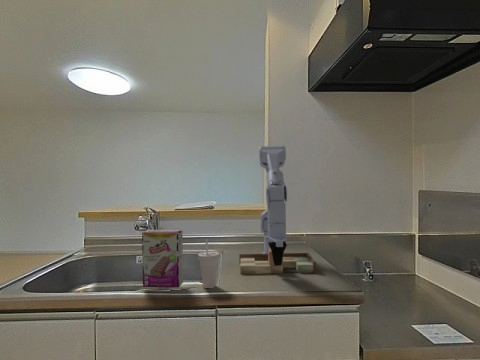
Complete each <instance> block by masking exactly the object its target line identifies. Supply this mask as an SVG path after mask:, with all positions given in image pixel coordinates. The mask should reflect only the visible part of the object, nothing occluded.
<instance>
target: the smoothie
mask: <svg viewBox="0 0 480 360" xmlns="http://www.w3.org/2000/svg"><path fill="white" fill-rule="evenodd" d="M208 240H209V239H208V238H205V251H202V252H199V253H198V254H197V258H198V260H199V266H200V267H199V268H200V273H201V280H202V288H203V287H204V288H203V289H206V288H212V289H214V287H215V288H216V287H217V280H218V279H217V277H218V269H219V267H218V266H219V259H220V257H221V256H220V253H219V252H218V251H209V250H208V249H209V241H208Z"/></svg>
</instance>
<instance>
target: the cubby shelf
mask: <svg viewBox="0 0 480 360" xmlns="http://www.w3.org/2000/svg"><path fill="white" fill-rule="evenodd" d="M238 257H239V266H240V268H239V269H240V271H239V272H240V275H243V274H244V275H247V274H249V275H250V274H251V275H252V274H256V275H257V274H308V273H311V274H317V262H316V261H315V259H314V258H313V257H312V256H311V254H310V253H309V252H288V253H287V252H286V253H285V252H284V253H283V265H276V266H275V265H269V262H268V254H263V253H240V254H239V256H238Z"/></svg>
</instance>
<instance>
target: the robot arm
mask: <svg viewBox="0 0 480 360" xmlns="http://www.w3.org/2000/svg"><path fill="white" fill-rule="evenodd" d="M286 153H287V152H286V146H285V145H266V146H265V145H264V146H262V145H260V146H259V166H260V168H264V169H265V172H266V179H265V180H266V187H265V199H266V206H267V207H266V210H264V211H262V212H261V214H260V232H261V233H262V234H263V242H264V243H263V247H264V250H263V251H262V254H268V249H271V251H272V256H273V262H274V265H275V266H276V265H281V264H282V258H283V253H285V250H286V248H287V245H288V244H287V242H286V240H287V238H288V237H287V216H286V215H287V211H286V209H287V207H286V203H287V200H288V190H287V189H288V187H287V185H286V182H285V179H284V174H283V172H282V171H281V170H280V168H282V167H283V168H284V165H285V163H286V159H287V158H286V157H287V156H286V155H287V154H286Z"/></svg>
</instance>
